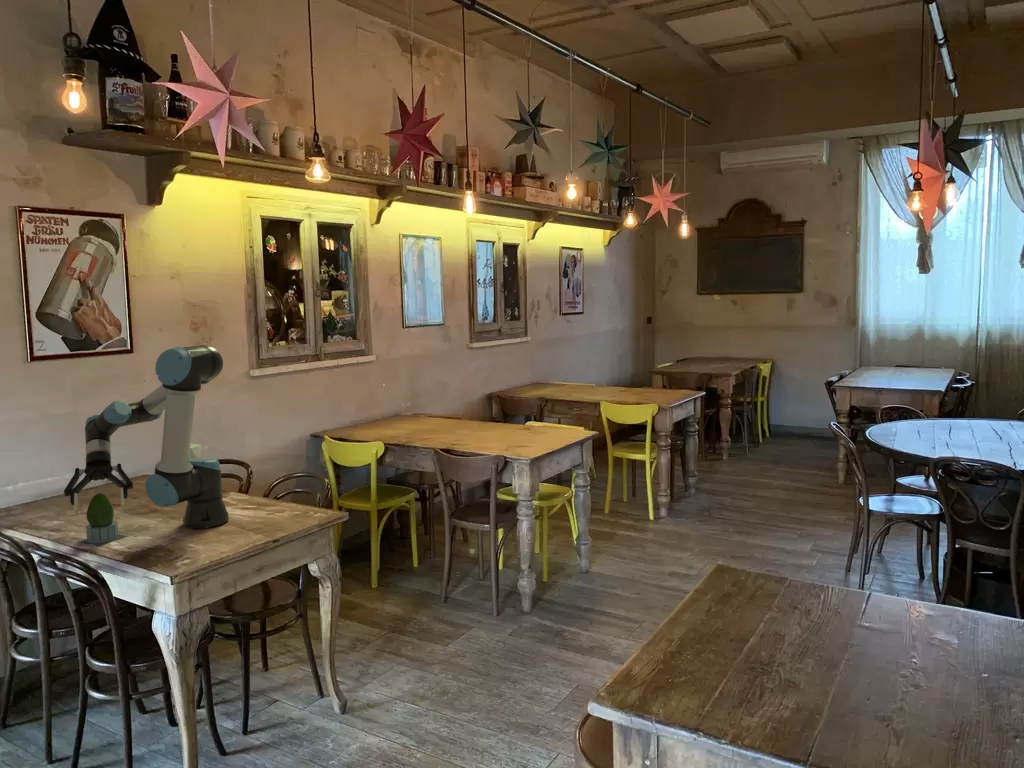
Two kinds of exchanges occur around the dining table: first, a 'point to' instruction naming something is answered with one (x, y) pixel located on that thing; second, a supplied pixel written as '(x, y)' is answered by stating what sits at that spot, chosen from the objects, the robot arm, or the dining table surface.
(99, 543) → the placemat
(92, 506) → the avocado
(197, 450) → the milk carton
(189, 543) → the dining table surface
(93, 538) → the bowl
